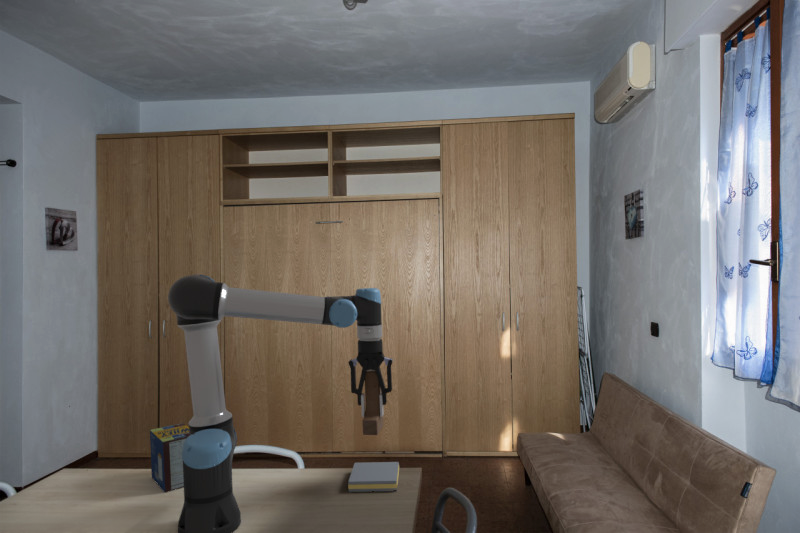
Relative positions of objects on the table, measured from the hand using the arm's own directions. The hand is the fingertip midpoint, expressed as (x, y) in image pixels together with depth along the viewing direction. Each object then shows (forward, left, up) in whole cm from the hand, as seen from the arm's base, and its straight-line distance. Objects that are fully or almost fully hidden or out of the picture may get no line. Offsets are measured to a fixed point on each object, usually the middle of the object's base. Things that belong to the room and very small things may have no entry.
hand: (372, 415), depth 154 cm
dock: (0, 0, -20) cm, 20 cm away
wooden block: (0, 0, -5) cm, 5 cm away
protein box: (-64, +3, -20) cm, 67 cm away
